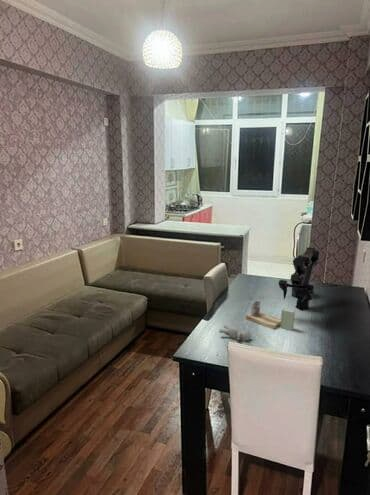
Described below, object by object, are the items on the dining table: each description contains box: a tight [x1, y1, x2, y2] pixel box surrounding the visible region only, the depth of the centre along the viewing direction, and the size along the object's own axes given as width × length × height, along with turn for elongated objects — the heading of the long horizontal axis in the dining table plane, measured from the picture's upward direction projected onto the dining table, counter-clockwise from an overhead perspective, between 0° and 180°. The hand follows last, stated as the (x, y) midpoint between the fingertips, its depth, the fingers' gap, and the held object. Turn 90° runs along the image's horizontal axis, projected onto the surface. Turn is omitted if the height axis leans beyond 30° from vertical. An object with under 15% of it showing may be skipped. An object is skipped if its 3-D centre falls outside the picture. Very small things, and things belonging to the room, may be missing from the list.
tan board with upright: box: [245, 299, 281, 330], centre depth 197 cm, size 10×18×10 cm, turn 43°
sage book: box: [280, 308, 296, 331], centre depth 189 cm, size 3×6×10 cm, turn 59°
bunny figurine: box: [218, 324, 252, 342], centre depth 179 cm, size 10×5×15 cm
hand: (292, 300), depth 193 cm, fingers open, 9 cm apart
